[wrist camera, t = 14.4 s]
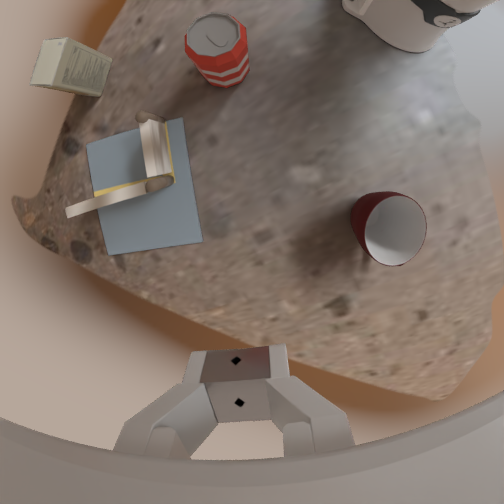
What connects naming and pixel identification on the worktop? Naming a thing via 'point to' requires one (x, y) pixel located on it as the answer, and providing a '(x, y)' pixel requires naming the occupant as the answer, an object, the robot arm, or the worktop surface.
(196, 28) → the beverage can
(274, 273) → the worktop surface
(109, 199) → the fence panel
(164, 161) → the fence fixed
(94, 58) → the skincare box
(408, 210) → the mug
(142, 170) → the card
